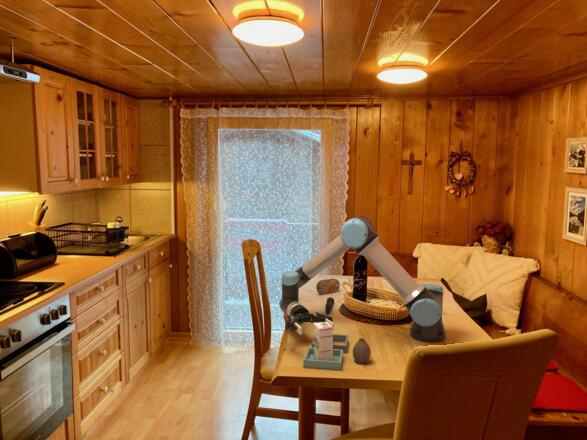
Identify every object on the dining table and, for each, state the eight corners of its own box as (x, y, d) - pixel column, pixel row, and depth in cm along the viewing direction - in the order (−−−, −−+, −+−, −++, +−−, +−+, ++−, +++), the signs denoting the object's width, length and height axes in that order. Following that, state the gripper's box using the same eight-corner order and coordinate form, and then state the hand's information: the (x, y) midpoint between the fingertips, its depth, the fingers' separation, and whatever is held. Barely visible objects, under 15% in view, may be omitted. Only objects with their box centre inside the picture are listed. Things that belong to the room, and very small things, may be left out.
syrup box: (333, 362, 183) (333, 326, 181) (318, 364, 181) (319, 327, 179) (327, 356, 188) (327, 321, 186) (313, 358, 186) (313, 322, 184)
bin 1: (348, 342, 205) (348, 335, 204) (346, 353, 193) (346, 346, 192) (315, 339, 207) (315, 333, 207) (311, 350, 195) (311, 343, 195)
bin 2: (343, 357, 189) (343, 349, 189) (340, 370, 177) (340, 362, 177) (307, 354, 192) (307, 347, 191) (303, 367, 180) (303, 359, 179)
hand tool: (326, 304, 258) (326, 295, 258) (334, 304, 257) (334, 296, 257) (321, 315, 240) (321, 306, 239) (329, 315, 239) (329, 306, 238)
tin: (318, 295, 273) (318, 281, 272) (315, 294, 275) (315, 280, 274) (340, 292, 280) (340, 278, 279) (337, 290, 283) (337, 276, 282)
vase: (354, 356, 190) (354, 335, 188) (371, 358, 188) (372, 337, 186) (351, 363, 183) (351, 341, 182) (369, 366, 181) (369, 343, 180)
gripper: (324, 317, 213) (345, 334, 193) (270, 324, 204) (287, 342, 185) (324, 301, 212) (346, 316, 192) (270, 307, 203) (287, 323, 184)
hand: (317, 329), depth 188 cm, fingers open, 13 cm apart
